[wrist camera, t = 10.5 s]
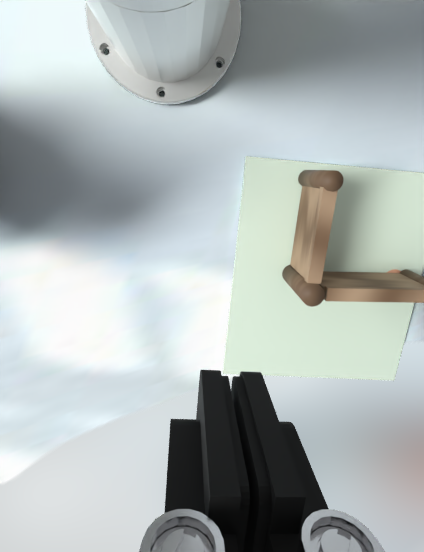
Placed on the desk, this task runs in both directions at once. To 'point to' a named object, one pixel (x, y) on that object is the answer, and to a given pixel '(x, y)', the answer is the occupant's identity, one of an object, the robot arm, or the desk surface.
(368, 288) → the panel
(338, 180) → the fence fixed section
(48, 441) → the desk surface
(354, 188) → the card
